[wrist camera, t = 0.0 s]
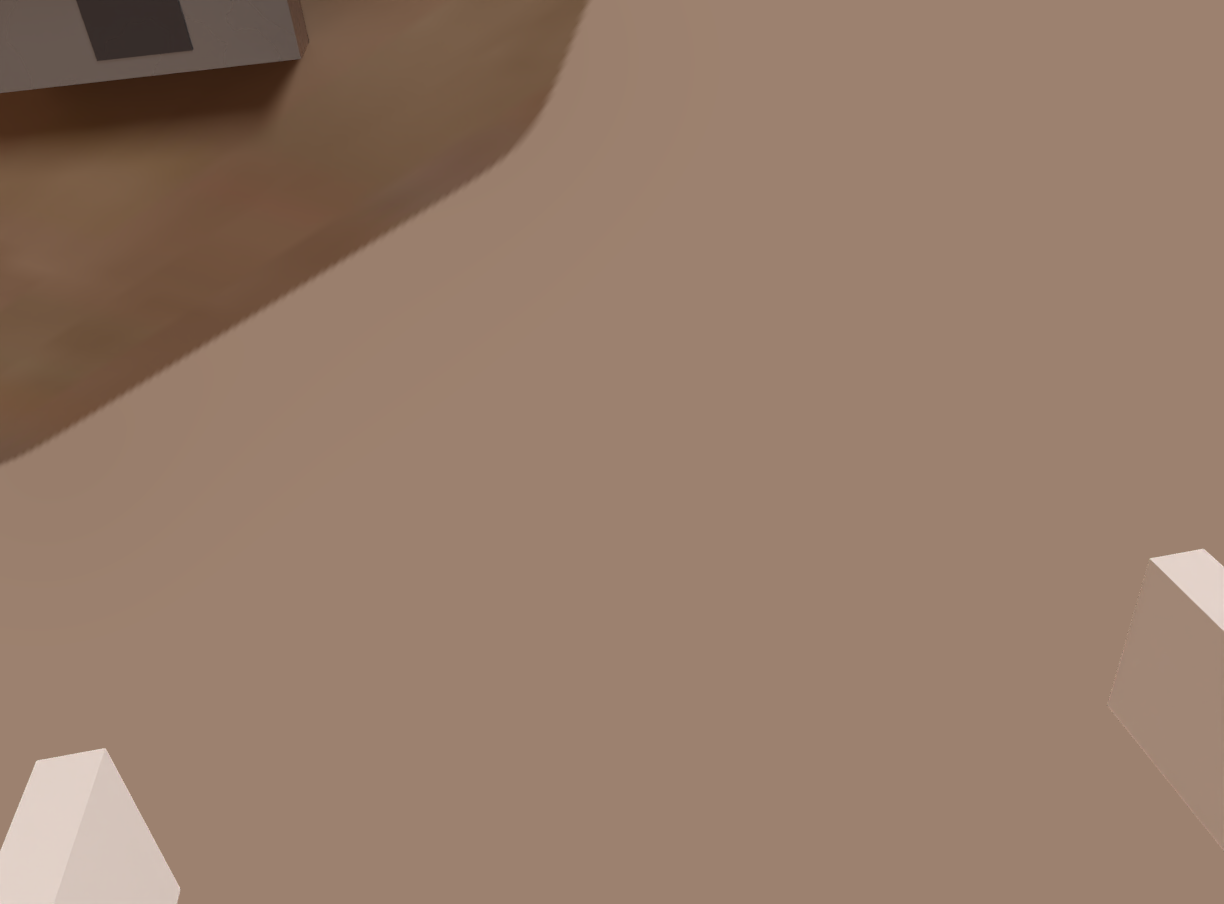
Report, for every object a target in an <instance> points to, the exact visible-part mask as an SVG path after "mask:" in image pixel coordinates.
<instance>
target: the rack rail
mask: <svg viewBox="0 0 1224 904" xmlns="http://www.w3.org/2000/svg"><path fill="white" fill-rule="evenodd" d="M308 43H309V39H308V35H307V30H306V26H305V22H304V17H303V13H302V9H301V4H300V0H0V93H5V92H14V91H23V90H32V89H40V88H49V87H58V86H67V85H76V84H84V83H93V82H102V81H111V80H120V79H128V78H137V77H146V76H155V75H164V74H172V73H181V72H190V71H199V70H208V69H216V68H225V67H234V66H243V65H252V64H260V63H269V62H278V61H287V60H296V59H301V58H302V56H303V54H304V52H305V49H306V47H307V45H308Z"/></svg>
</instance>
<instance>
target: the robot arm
mask: <svg viewBox="0 0 1224 904" xmlns="http://www.w3.org/2000/svg"><path fill="white" fill-rule="evenodd" d="M1107 706H1108V707H1109V709H1110V710H1111V711H1112V712H1113V714H1114V715H1115V716H1116V717H1117V719H1118V720H1119V721H1120V722H1121V724H1122V725H1123V726H1124V727H1125V728H1126V730H1127V731H1128V732H1129V733H1130V735H1131V736H1132V737H1133V738H1134V740H1135V741H1136V742H1137V743H1138V745H1139V746H1140V747H1141V748H1142V750H1143V751H1144V752H1145V753H1146V755H1147V756H1148V757H1149V758H1150V760H1151V761H1152V762H1153V763H1154V765H1155V766H1156V767H1157V768H1158V770H1159V771H1160V772H1161V773H1162V775H1163V776H1164V777H1165V778H1166V780H1167V781H1168V782H1169V783H1170V785H1171V786H1172V787H1173V788H1174V790H1175V791H1176V792H1177V793H1178V795H1179V796H1180V797H1181V798H1182V800H1183V801H1184V802H1185V803H1186V805H1187V806H1188V807H1189V808H1190V810H1191V811H1192V812H1193V813H1194V814H1195V816H1196V817H1197V818H1198V820H1199V821H1200V822H1201V823H1202V824H1203V826H1204V827H1205V828H1206V830H1207V831H1208V832H1209V833H1210V835H1211V836H1212V837H1213V838H1214V840H1215V841H1216V842H1217V843H1218V845H1219V846H1220V847H1221V848H1222V850H1223V851H1224V567H1223V566H1222V565H1221V564H1220V563H1219V562H1218V561H1217V560H1216V559H1214V558H1213V557H1212V556H1211V555H1210V554H1209V553H1208V552H1207V551H1206V550H1204V549H1200V550H1195V551H1189V552H1183V553H1178V554H1172V555H1167V556H1161V557H1156V558H1150V559H1149V563H1148V566H1147V570H1146V573H1145V577H1144V580H1143V583H1142V587H1141V590H1140V594H1139V597H1138V601H1137V604H1136V607H1135V611H1134V614H1133V618H1132V621H1131V625H1130V628H1129V632H1128V635H1127V638H1126V642H1125V645H1124V649H1123V652H1122V656H1121V659H1120V663H1119V666H1118V670H1117V673H1116V677H1115V680H1114V683H1113V687H1112V690H1111V693H1110V697H1109V700H1108V704H1107ZM179 893H180V887H179V885H178V884H177V881H176V880H175V878H174V876H173V874H172V872H171V870H170V868H169V866H168V865H167V863H166V861H165V859H164V857H163V855H162V853H161V851H160V850H159V848H158V846H157V844H156V842H155V840H154V838H153V836H152V835H151V833H150V831H149V829H148V827H147V825H146V823H145V821H144V820H143V818H142V816H141V814H140V812H139V810H138V808H137V807H136V805H135V803H134V801H133V799H132V797H131V795H130V793H129V791H128V790H127V788H126V786H125V784H124V782H123V780H122V778H121V776H120V775H119V773H118V771H117V769H116V767H115V765H114V763H113V761H112V760H111V758H110V756H109V754H108V752H107V750H106V749H105V748H104V749H99V750H93V751H87V752H82V753H76V754H71V755H65V756H60V757H55V758H49V759H43V760H38V761H36V763H35V766H34V769H33V771H32V773H31V776H30V779H29V781H28V784H27V786H26V789H25V791H24V793H23V796H22V799H21V801H20V803H19V806H18V808H17V811H16V813H15V816H14V818H13V821H12V823H11V826H10V828H9V831H8V833H7V836H6V838H5V841H4V843H3V846H2V848H1V851H0V904H177V901H178V897H179Z"/></svg>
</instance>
